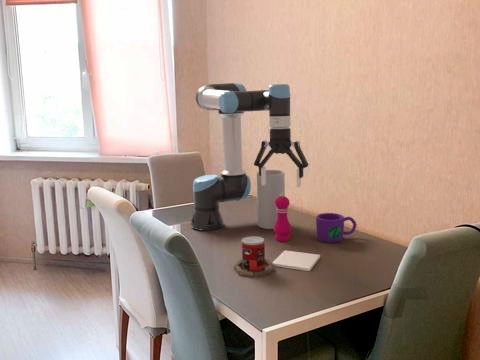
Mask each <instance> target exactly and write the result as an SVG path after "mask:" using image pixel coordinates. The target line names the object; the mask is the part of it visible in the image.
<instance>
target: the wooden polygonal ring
mask: <svg viewBox="0 0 480 360" xmlns="http://www.w3.org/2000/svg"><path fill="white" fill-rule="evenodd" d="M265 267H266V268H264V269H263V270H257V271H249V270H243V268H242V259H239V260H238V261H237V262H236V263H234V264H233V271H235V273H236V274H238V275H239V276H244V277H248V278H249V277H250V278H256V277H264V276H268V275H270V274H271V273H272V272H273V270H274V269H275V266H274V264H273V262H272V261H270V259H266V258H265Z"/></svg>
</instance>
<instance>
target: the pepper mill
mask: <svg viewBox="0 0 480 360" xmlns="http://www.w3.org/2000/svg"><path fill="white" fill-rule="evenodd" d="M290 203H291V202H290V200H289V198H288V197H286V196H285V197H284V193H281V194H280V197H278V198H277V199H276V200H275V205H276V207H277V208H276V209H277V210H276V211H277V213H278V218H277V221H276V223H275V226H274V229H273V231H274V233H275V236H274V239H275V241H277V242H288V241H290V240H291V232H292V226H291V224H290V221H289V219H288V212H289V206H290Z"/></svg>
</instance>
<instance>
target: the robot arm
mask: <svg viewBox="0 0 480 360" xmlns="http://www.w3.org/2000/svg"><path fill="white" fill-rule="evenodd" d="M290 90H291V87H290V85H289V84H288V83H284V84H283V83H282V84H280V83H278V84H269V86H268V89H260V90H247V89H246V87H245V86H244V85H243V84H242V83H235V82H232V83H231V82H229V83H209V84H205V85H203V86H201V87H200V88H199V89H198V90H197V91H196V92H195V102H196V105H198V107H199V108H201V109H203V110H206V111H217V112H218V115H219V116H220V117H221V124H222V126H221V127H222V148H223V149H222V151H223V170H222V171H221V172H220V177H219V176H218V175H217V174H205V175H201V176H198V177H196V178H195V179H194V180H193V183H192V191H193V193H192V195H193V214H192V218H191V220H190V226H191V225H192V226H193V227H194V228H197V229H202V230H208V231H215V230H214V229H216V230H219V229H222V228H223V227H224V218H223V215H222V213H221V211H220V203H226V202H227V203H228V202H235V201H236V202H238V201H239V202H240V201H241V200H242V201H243V200H246V199H248V197H249V195H250V194H251V189H252V182H251V178H250V176H249V175H248V174H246V173H247V172H246V170H244V169H243V148H242V147H243V146H242V143H243V141H242V116H243V115H244V114H245V112H262V111H264V112H266V111H268V112H269V114H268V115H269V117H268V118H269V127H270V129H269V141H267V140H263V141H261V146H260V150H259V151H258V154H257V156H256V158H255V161H254V162H253V166H254V167H257V168H258V171H259V176H261V182H262V185H265V184H266V170H267V169H266V166H265V165H266V163H268V161H269V160H270V158H271V157H272V156H273V154H275V155H276V154H281V155H284V154H286V155H287V156H288V157H289V158H290V160H291V161H292V162H293V164H295V166H296V167H297V169H296V188H300V187H301V186H302V178H303V177H304V169H305V168H308V167H309V163H308V160H307V159H306V157H305V155H304V153H303V150H302V148H301V145H300V144H301V143H300V141H299V140H296V141H292V140H291V139H292V137H291V136H292V135H291V128H290V127H291V91H290ZM268 146H269V148H270V150H269V151H268V152H267V154H266V155H265V156H264V154H265V151H266V149H267V148H268ZM291 147H292V148H294V149H295V151H296V154H297V156H298V157H297V156H296V155H295V153H294V152H293V150H292V149H291ZM263 156H264V158H263ZM262 158H263V159H262ZM202 230H201V231H202Z"/></svg>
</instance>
